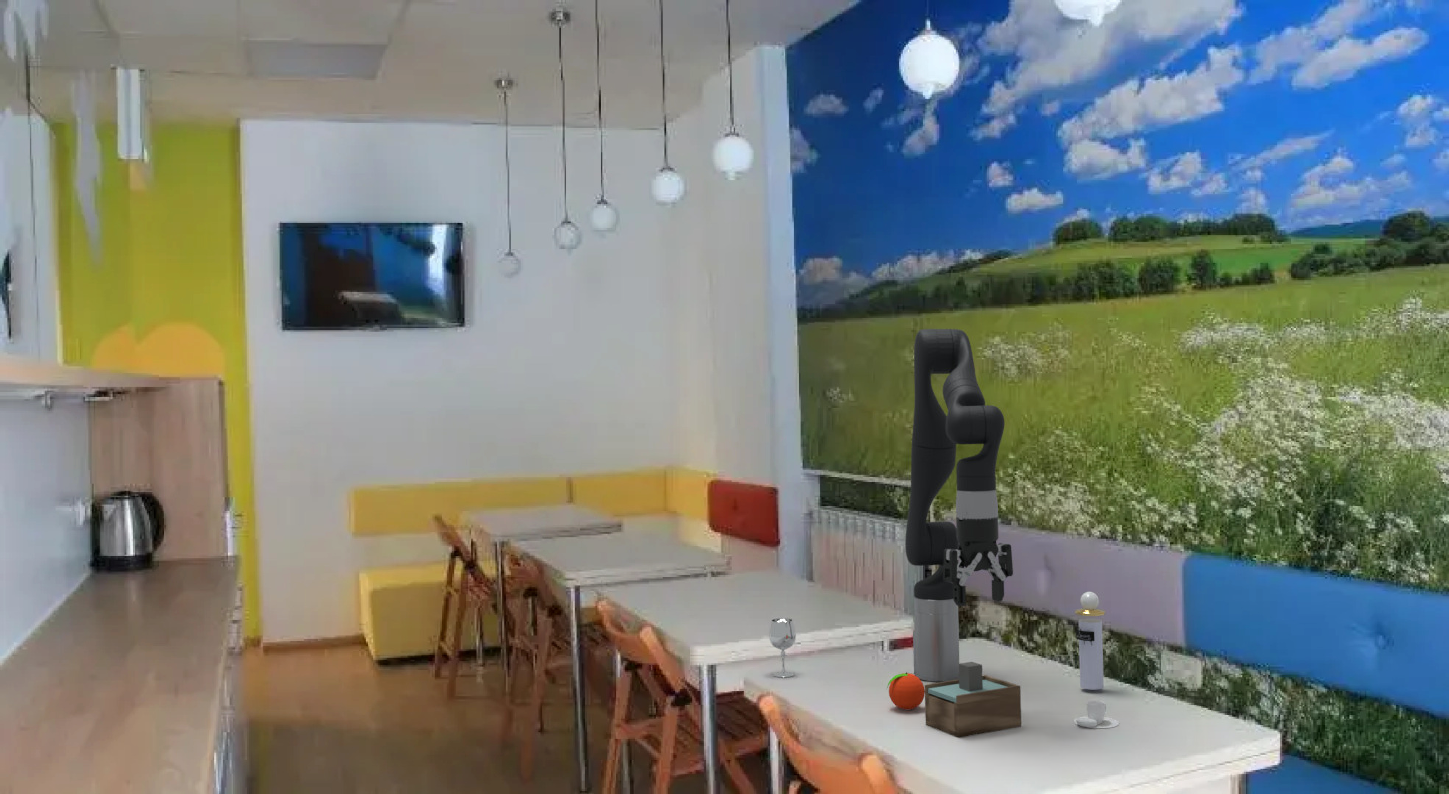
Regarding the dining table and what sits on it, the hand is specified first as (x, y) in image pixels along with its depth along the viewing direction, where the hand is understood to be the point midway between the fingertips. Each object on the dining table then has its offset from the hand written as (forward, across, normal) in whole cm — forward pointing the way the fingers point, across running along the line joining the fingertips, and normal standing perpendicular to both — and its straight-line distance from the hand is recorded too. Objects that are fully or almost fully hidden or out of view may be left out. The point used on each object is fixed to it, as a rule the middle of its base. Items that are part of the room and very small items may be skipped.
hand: (979, 603), depth 225 cm
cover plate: (+16, +2, -1) cm, 17 cm away
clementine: (+23, +5, -17) cm, 29 cm away
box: (+22, +1, -1) cm, 22 cm away
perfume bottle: (+23, -35, -8) cm, 42 cm away
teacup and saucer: (+23, -16, +8) cm, 29 cm away
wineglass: (+23, +10, -55) cm, 60 cm away
